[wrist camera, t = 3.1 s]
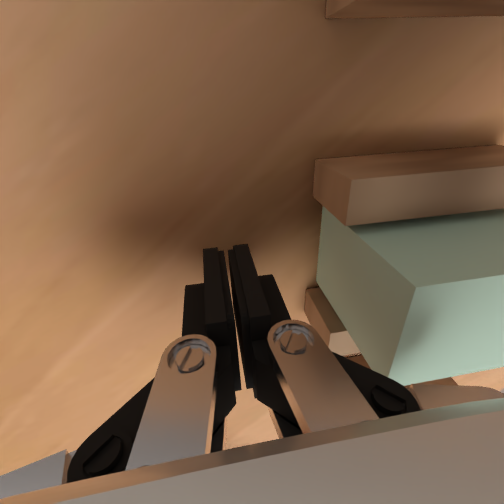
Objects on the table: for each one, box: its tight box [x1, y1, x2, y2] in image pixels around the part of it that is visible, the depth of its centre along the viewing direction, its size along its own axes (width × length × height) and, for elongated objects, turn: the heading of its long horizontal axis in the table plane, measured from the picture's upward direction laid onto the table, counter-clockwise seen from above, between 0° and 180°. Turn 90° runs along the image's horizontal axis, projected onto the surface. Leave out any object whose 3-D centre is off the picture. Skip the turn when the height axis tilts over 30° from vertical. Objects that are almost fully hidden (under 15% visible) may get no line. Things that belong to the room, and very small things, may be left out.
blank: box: [316, 206, 504, 386], centre depth 11 cm, size 7×4×6 cm, turn 92°
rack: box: [305, 0, 504, 388], centre depth 12 cm, size 8×19×3 cm, turn 2°
